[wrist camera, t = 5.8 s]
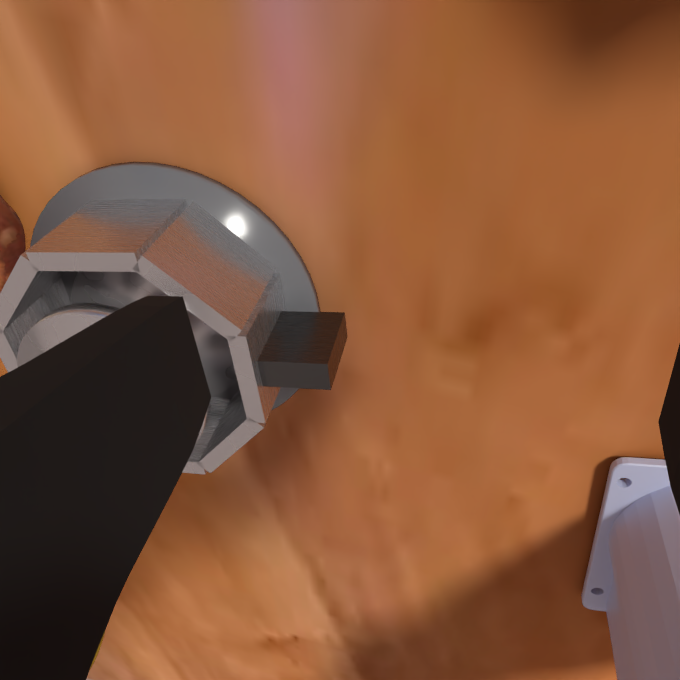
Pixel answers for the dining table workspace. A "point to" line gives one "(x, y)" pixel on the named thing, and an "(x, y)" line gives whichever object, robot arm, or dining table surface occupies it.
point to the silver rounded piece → (109, 296)
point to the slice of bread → (9, 241)
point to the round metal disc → (196, 187)
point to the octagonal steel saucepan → (200, 299)
